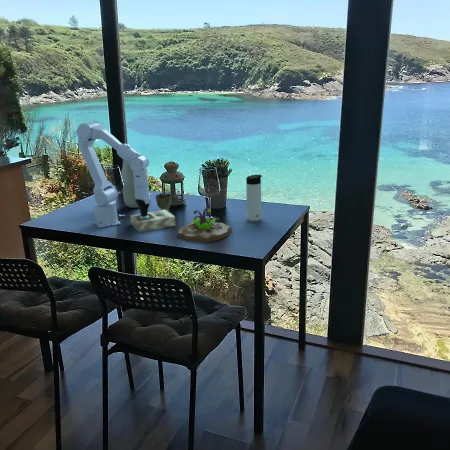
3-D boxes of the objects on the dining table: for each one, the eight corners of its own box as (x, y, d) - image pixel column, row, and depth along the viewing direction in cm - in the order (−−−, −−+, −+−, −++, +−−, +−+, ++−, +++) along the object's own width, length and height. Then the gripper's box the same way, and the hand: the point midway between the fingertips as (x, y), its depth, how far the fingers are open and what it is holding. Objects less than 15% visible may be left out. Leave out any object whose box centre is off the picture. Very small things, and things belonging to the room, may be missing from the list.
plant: (210, 246, 183) (209, 218, 179) (170, 238, 193) (168, 211, 190) (238, 230, 199) (237, 204, 195) (199, 223, 209) (198, 198, 205)
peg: (142, 227, 204) (141, 218, 203) (139, 224, 208) (138, 216, 206) (151, 225, 206) (150, 217, 205) (148, 223, 209) (147, 214, 208)
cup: (174, 208, 229) (172, 192, 227) (170, 213, 223) (169, 196, 220) (158, 209, 230) (157, 192, 228) (155, 213, 223) (153, 197, 221)
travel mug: (261, 222, 206) (260, 176, 199) (245, 222, 207) (244, 176, 201) (263, 218, 212) (262, 173, 205) (248, 217, 213) (247, 173, 206)
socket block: (139, 232, 200) (138, 222, 198) (131, 224, 210) (130, 214, 209) (175, 225, 206) (174, 216, 205) (165, 217, 217) (165, 209, 215)
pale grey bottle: (121, 209, 231) (114, 151, 222) (131, 203, 240) (125, 147, 231) (140, 211, 228) (134, 152, 219) (149, 204, 237) (144, 148, 228)
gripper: (156, 187, 196) (158, 218, 201) (145, 180, 209) (148, 210, 213) (139, 189, 193) (142, 221, 198) (129, 182, 206) (132, 212, 210)
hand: (144, 215), depth 205 cm, fingers closed
